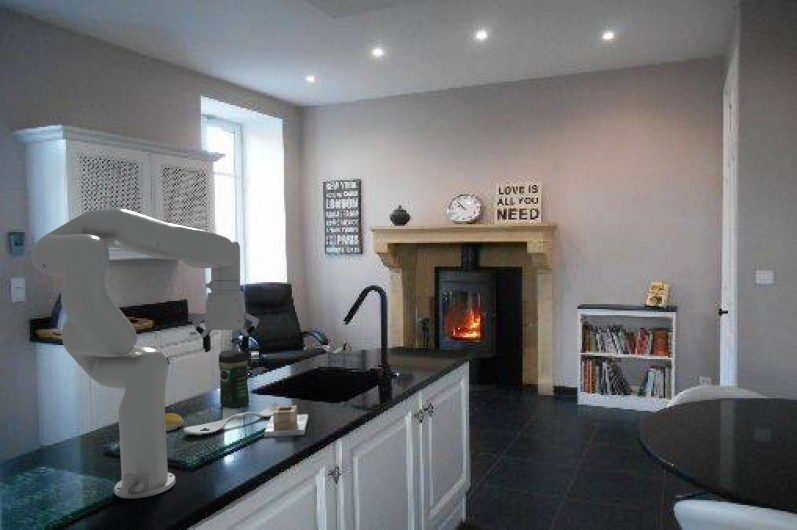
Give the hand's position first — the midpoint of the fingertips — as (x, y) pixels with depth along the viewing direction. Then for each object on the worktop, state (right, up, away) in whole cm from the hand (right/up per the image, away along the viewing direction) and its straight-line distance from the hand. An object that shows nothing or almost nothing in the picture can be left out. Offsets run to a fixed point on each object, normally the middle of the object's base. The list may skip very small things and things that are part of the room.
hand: (226, 351), depth 156 cm
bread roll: (-23, -26, +20) cm, 40 cm away
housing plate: (+13, -25, +16) cm, 32 cm away
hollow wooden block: (+13, -23, +13) cm, 30 cm away
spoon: (-3, -26, +20) cm, 33 cm away
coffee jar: (-10, -25, +43) cm, 50 cm away
